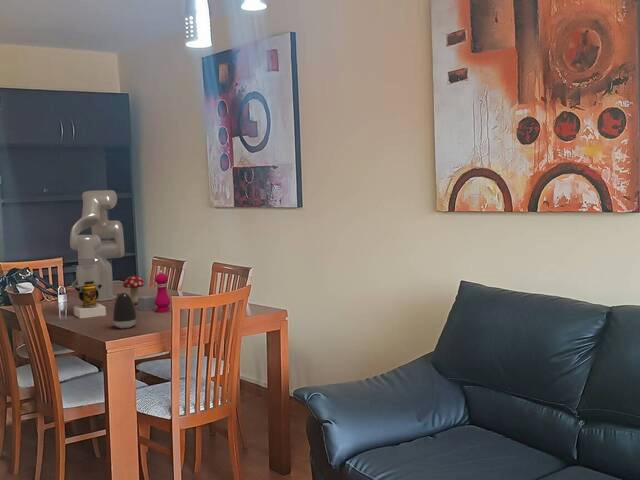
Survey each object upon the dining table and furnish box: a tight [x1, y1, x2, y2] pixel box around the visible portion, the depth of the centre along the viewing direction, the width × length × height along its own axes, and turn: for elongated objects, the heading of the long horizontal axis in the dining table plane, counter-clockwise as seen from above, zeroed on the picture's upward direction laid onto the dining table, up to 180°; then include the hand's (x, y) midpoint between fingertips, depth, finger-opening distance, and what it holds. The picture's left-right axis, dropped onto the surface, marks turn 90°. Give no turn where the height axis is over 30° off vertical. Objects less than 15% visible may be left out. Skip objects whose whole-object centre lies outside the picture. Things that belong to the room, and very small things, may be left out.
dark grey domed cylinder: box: [111, 292, 138, 329], centre depth 314 cm, size 10×10×15 cm
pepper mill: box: [154, 270, 171, 313], centre depth 348 cm, size 7×7×20 cm
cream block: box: [73, 303, 107, 319], centre depth 346 cm, size 12×12×4 cm
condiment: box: [76, 281, 101, 307], centre depth 345 cm, size 7×8×12 cm
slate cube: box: [137, 295, 157, 311], centre depth 357 cm, size 6×6×6 cm
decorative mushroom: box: [122, 275, 145, 306], centre depth 370 cm, size 11×11×15 cm
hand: (89, 299), depth 345 cm, fingers closed on condiment, 6 cm apart
